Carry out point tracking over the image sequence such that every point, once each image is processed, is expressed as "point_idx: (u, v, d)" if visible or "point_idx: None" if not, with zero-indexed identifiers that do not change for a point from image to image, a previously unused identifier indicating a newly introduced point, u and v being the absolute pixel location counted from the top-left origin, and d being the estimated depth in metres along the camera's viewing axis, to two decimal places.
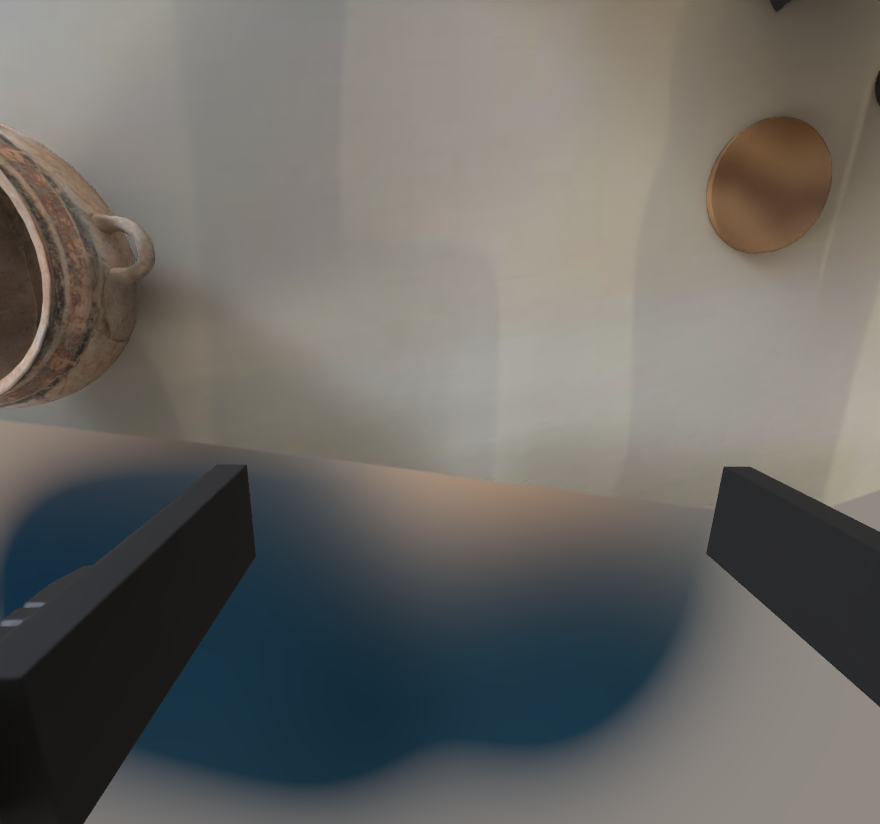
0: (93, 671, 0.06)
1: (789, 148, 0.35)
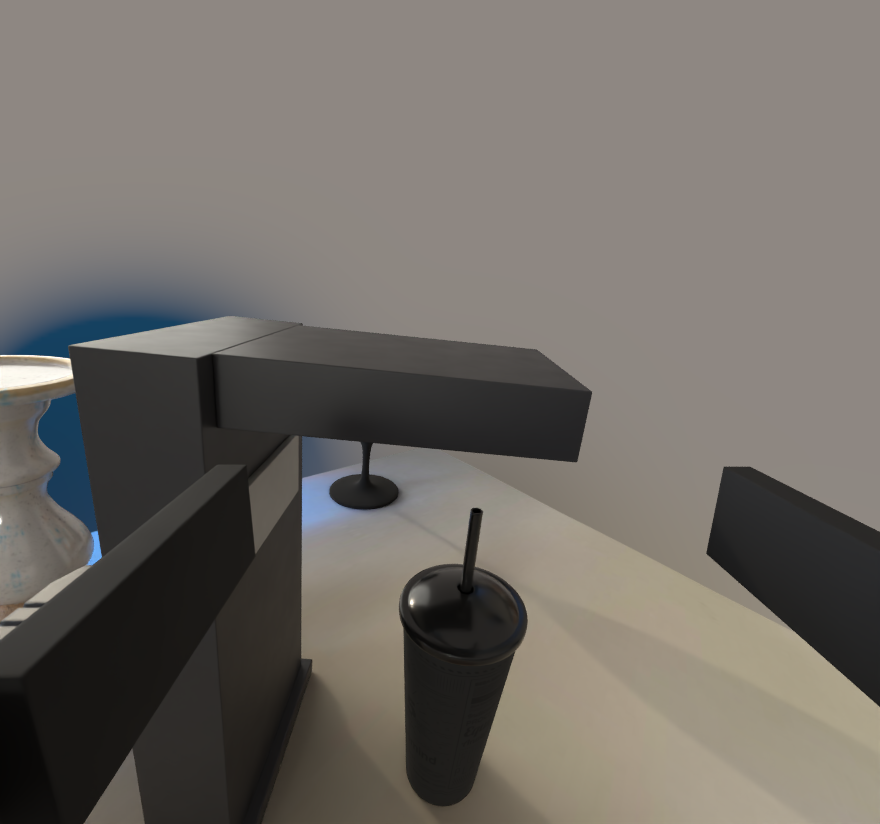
0: (94, 670, 0.06)
1: None
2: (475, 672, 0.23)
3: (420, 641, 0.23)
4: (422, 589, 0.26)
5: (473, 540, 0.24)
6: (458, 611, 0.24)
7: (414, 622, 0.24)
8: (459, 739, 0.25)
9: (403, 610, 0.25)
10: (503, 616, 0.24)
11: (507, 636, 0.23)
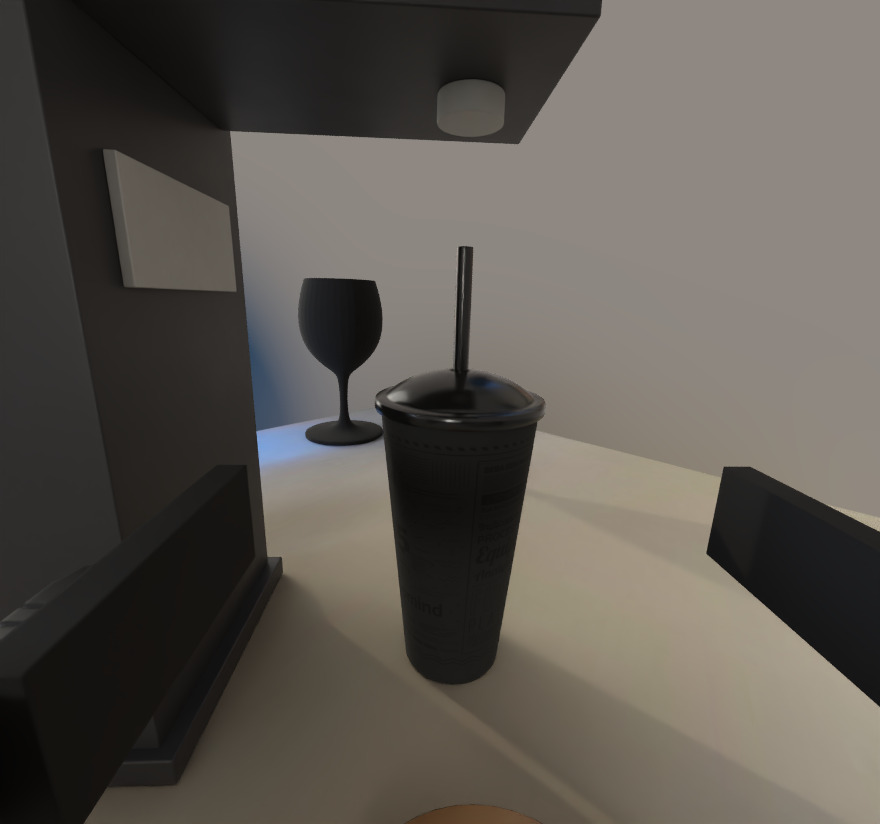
0: (93, 671, 0.06)
1: None
2: (483, 448, 0.16)
3: (404, 413, 0.17)
4: (404, 380, 0.19)
5: (463, 288, 0.18)
6: (452, 382, 0.18)
7: (395, 402, 0.17)
8: (470, 569, 0.18)
9: (380, 399, 0.18)
10: (513, 389, 0.18)
11: (522, 406, 0.17)
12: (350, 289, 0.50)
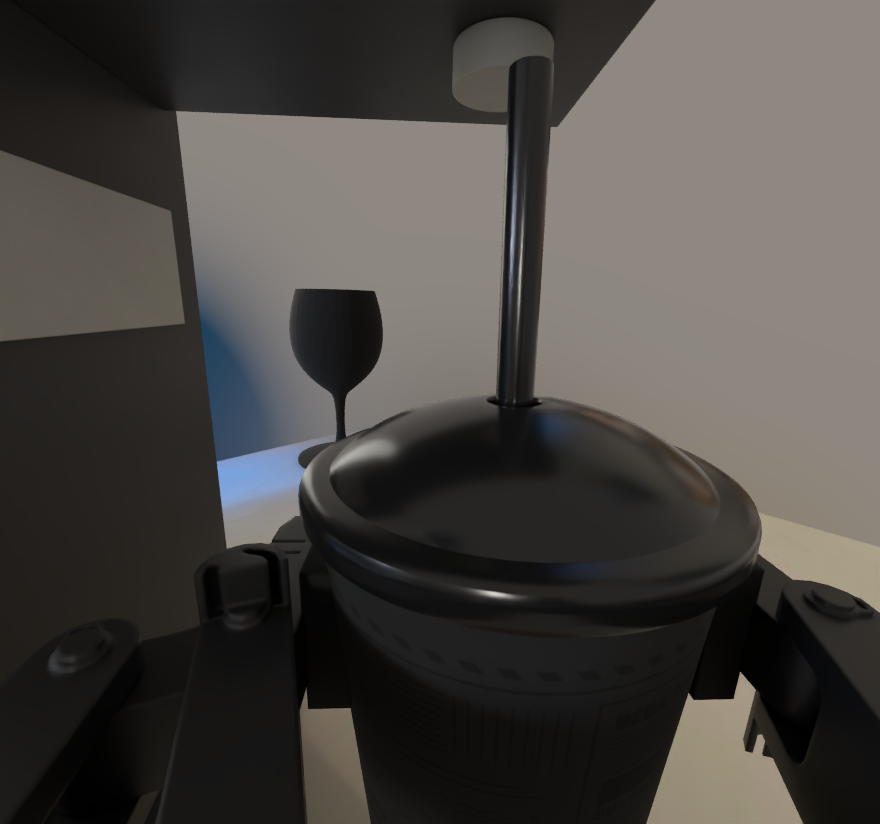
0: None
1: None
2: (619, 669, 0.05)
3: (361, 558, 0.05)
4: (376, 428, 0.08)
5: (528, 182, 0.07)
6: (506, 442, 0.06)
7: (341, 503, 0.06)
8: None
9: (309, 483, 0.07)
10: (667, 456, 0.07)
11: (713, 512, 0.06)
12: (346, 301, 0.44)
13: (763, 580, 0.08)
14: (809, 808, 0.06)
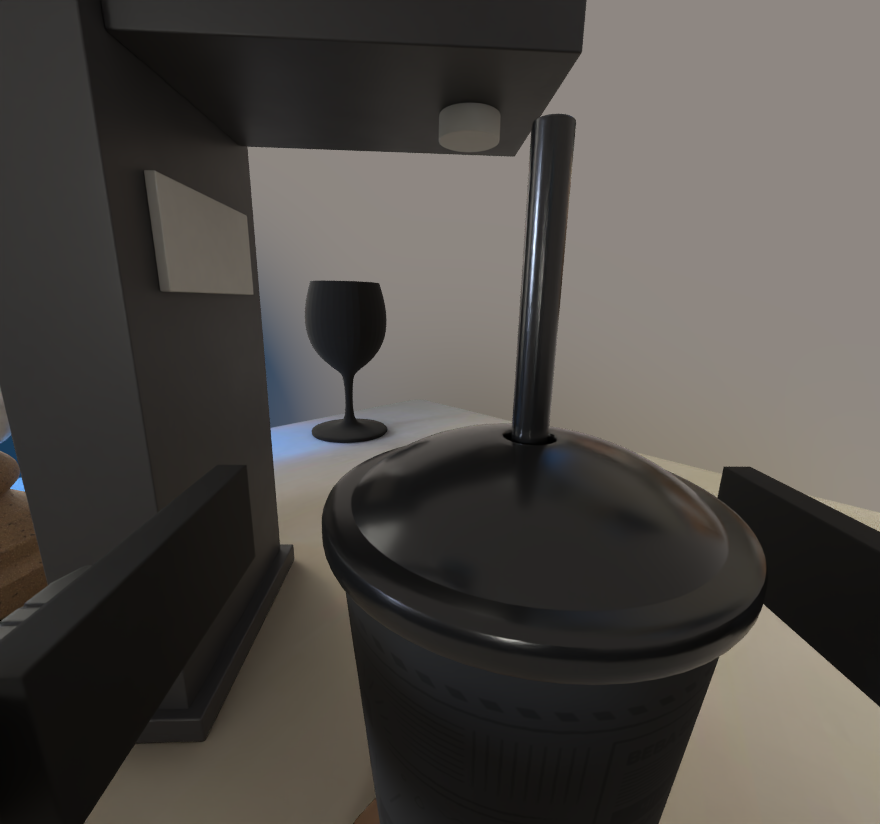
0: (93, 671, 0.06)
1: None
2: (632, 709, 0.05)
3: (389, 600, 0.05)
4: (394, 460, 0.08)
5: (549, 232, 0.07)
6: (524, 484, 0.06)
7: (366, 541, 0.06)
8: None
9: (332, 516, 0.07)
10: (677, 497, 0.07)
11: (722, 555, 0.06)
12: (355, 291, 0.51)
13: None
14: None
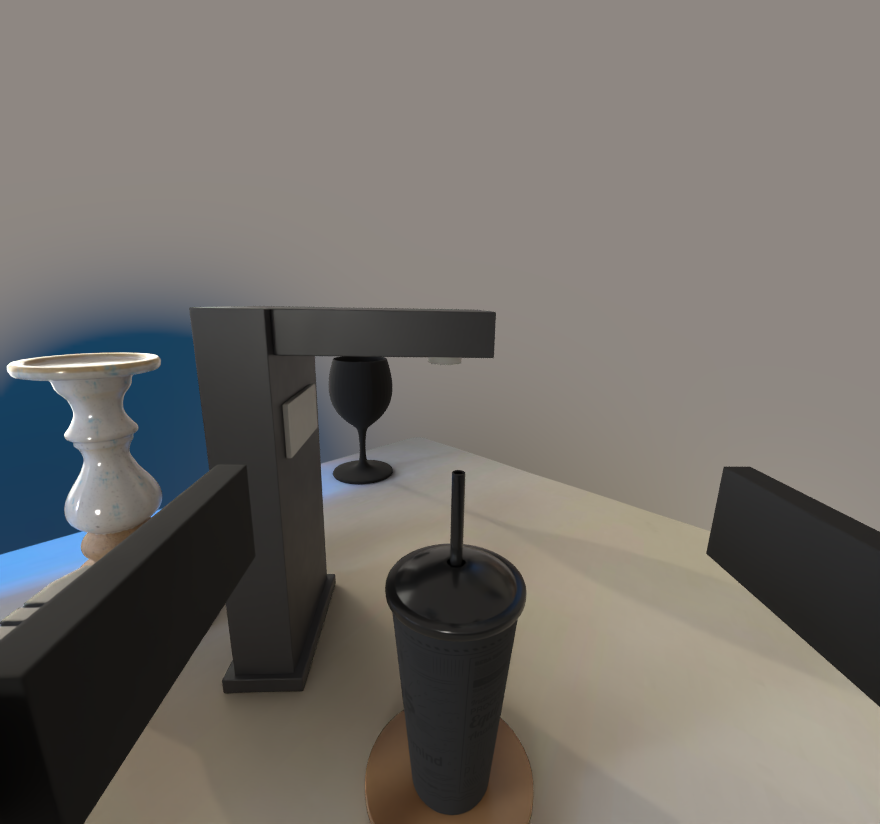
0: (93, 671, 0.06)
1: None
2: (473, 649, 0.20)
3: (409, 621, 0.21)
4: (409, 569, 0.23)
5: (457, 505, 0.22)
6: (449, 585, 0.22)
7: (402, 602, 0.22)
8: (465, 732, 0.22)
9: (390, 592, 0.22)
10: (499, 586, 0.22)
11: (505, 607, 0.21)
12: (369, 369, 0.66)
13: None
14: None
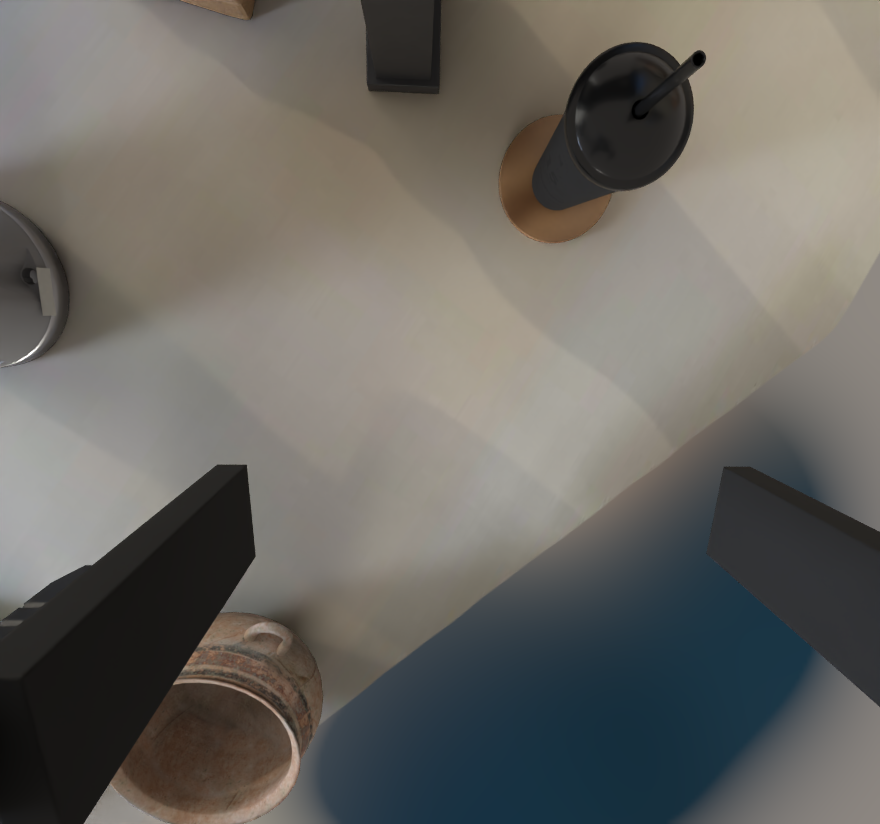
0: (93, 671, 0.06)
1: (541, 147, 0.38)
2: None
3: (584, 171, 0.26)
4: (592, 107, 0.24)
5: (675, 85, 0.21)
6: (626, 143, 0.25)
7: (580, 150, 0.25)
8: (587, 199, 0.33)
9: (570, 132, 0.25)
10: (668, 141, 0.25)
11: (663, 162, 0.26)
12: None
13: None
14: None
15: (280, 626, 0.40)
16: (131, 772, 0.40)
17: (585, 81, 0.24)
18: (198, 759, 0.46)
